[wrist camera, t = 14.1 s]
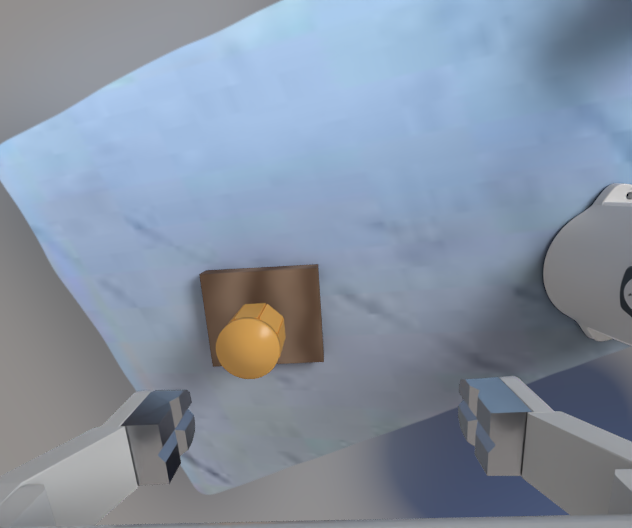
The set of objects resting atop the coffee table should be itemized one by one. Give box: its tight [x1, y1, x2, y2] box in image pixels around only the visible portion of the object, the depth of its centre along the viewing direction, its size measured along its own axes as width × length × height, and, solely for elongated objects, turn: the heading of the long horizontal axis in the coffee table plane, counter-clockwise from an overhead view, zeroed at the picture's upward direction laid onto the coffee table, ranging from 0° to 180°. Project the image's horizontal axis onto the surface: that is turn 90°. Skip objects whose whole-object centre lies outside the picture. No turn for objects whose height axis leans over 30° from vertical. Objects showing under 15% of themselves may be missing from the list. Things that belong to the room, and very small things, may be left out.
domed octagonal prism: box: [216, 303, 286, 379], centre depth 33 cm, size 6×6×5 cm
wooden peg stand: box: [200, 264, 324, 366], centre depth 35 cm, size 14×12×9 cm
